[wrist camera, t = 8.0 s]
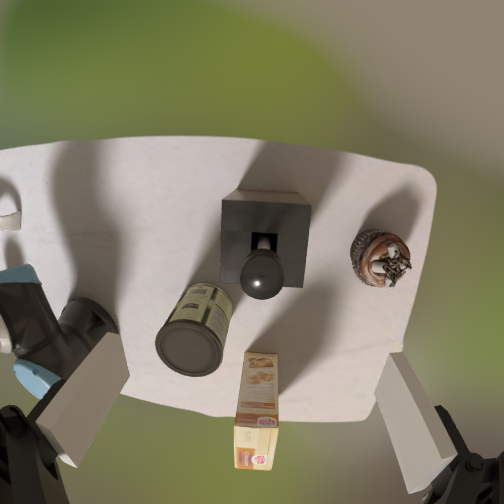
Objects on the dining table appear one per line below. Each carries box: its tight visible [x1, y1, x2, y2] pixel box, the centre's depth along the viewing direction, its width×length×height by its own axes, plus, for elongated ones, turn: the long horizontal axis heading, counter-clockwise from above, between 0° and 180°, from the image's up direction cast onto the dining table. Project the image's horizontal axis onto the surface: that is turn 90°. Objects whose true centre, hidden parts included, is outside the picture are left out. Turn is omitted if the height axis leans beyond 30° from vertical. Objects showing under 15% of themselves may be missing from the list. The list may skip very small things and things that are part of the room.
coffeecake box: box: [234, 352, 279, 470], centre depth 48 cm, size 15×7×20 cm, turn 178°
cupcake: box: [350, 229, 412, 290], centre depth 43 cm, size 10×10×10 cm
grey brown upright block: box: [220, 189, 311, 288], centre depth 40 cm, size 10×10×15 cm
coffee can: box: [155, 283, 233, 377], centre depth 46 cm, size 10×10×14 cm
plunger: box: [240, 232, 284, 300], centre depth 33 cm, size 7×7×20 cm
